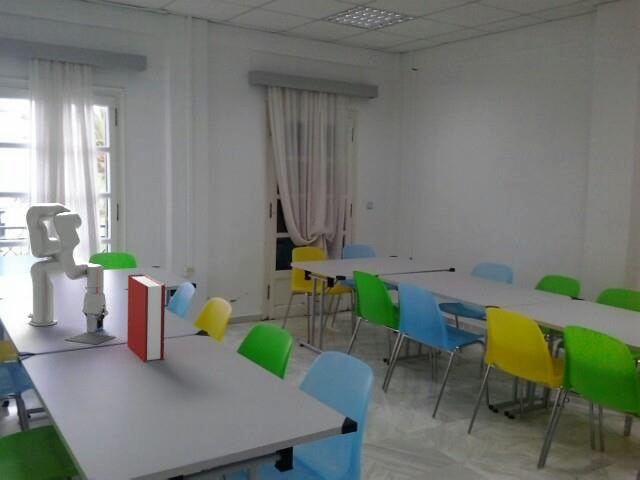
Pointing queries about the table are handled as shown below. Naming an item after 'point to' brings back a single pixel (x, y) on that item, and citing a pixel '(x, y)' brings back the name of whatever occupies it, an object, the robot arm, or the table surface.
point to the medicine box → (92, 323)
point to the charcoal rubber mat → (90, 338)
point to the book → (146, 317)
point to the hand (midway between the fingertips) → (95, 326)
